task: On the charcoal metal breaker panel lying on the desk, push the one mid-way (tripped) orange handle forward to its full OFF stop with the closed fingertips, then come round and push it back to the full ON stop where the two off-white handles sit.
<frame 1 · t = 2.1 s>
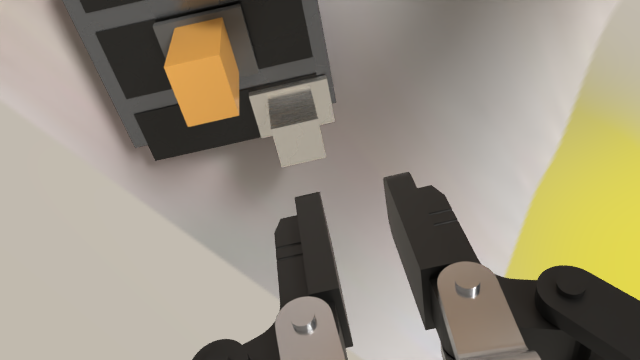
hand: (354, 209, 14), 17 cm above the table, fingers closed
panel: (210, 30, 28), on the table
tripped handle: (205, 67, 24), point 5 cm above the table, slide at 0.0 cm
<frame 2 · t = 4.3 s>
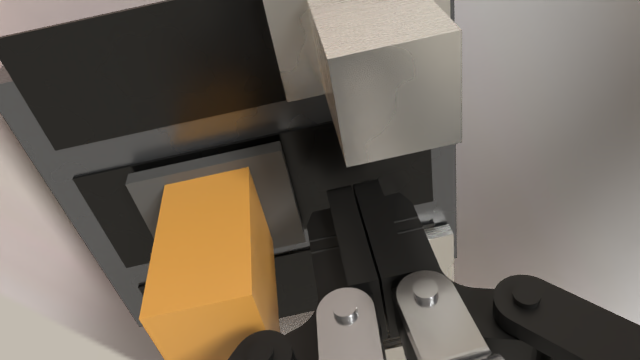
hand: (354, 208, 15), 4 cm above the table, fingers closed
panel: (263, 153, 17), on the table
tripped handle: (220, 265, 13), point 5 cm above the table, slide at 1.4 cm, touching gripper
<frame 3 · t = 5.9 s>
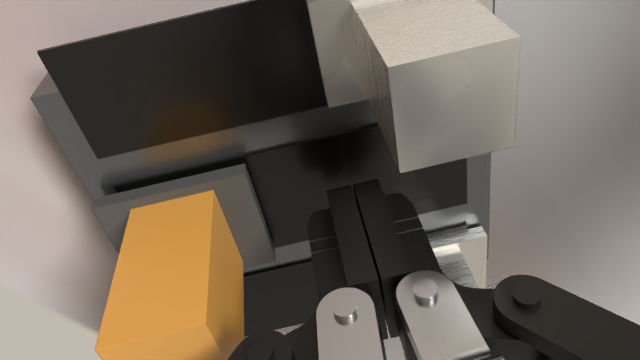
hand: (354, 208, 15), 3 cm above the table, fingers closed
panel: (296, 157, 17), on the table
tripped handle: (184, 289, 14), point 5 cm above the table, slide at 3.5 cm
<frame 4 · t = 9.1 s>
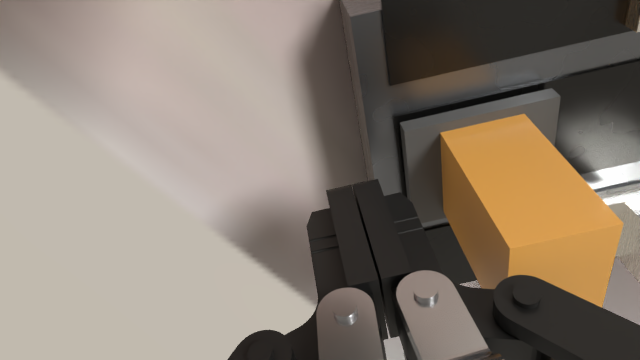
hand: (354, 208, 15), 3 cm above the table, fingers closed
panel: (533, 99, 17), on the table
tripped handle: (510, 210, 13), point 5 cm above the table, slide at 2.9 cm, touching gripper
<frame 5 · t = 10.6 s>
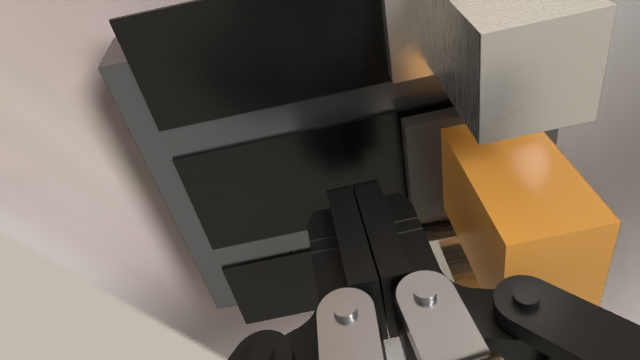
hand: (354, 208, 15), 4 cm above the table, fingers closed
panel: (347, 137, 17), on the table
tripped handle: (510, 207, 13), point 5 cm above the table, slide at -3.7 cm, touching gripper
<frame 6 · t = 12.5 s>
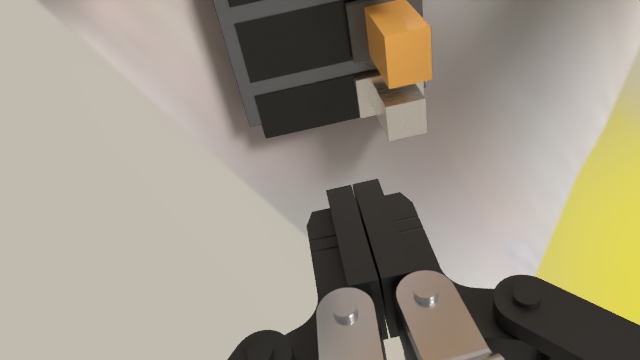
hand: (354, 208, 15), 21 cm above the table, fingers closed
panel: (321, 24, 32), on the table
tripped handle: (395, 40, 29), point 5 cm above the table, slide at -3.5 cm
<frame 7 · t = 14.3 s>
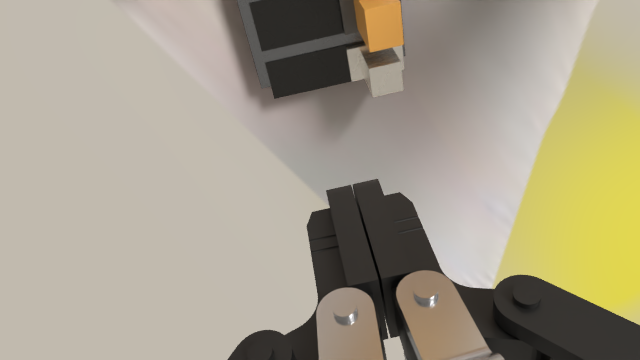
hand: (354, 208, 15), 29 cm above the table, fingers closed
panel: (319, 4, 40), on the table
tripped handle: (376, 15, 36), point 5 cm above the table, slide at -3.5 cm
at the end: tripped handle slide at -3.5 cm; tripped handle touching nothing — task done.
